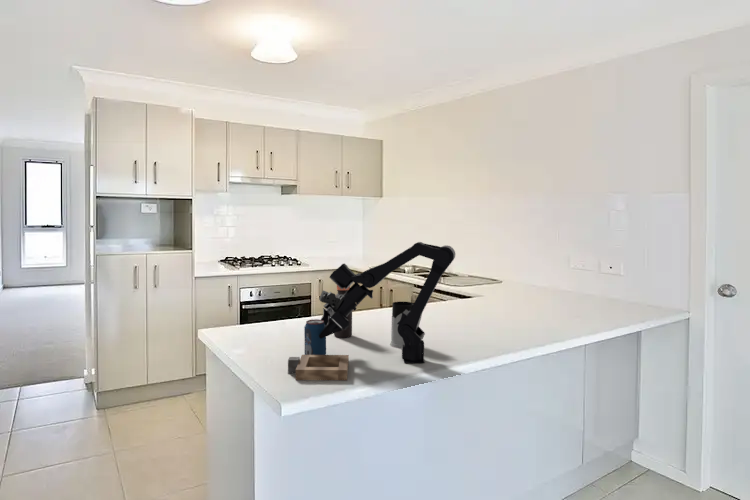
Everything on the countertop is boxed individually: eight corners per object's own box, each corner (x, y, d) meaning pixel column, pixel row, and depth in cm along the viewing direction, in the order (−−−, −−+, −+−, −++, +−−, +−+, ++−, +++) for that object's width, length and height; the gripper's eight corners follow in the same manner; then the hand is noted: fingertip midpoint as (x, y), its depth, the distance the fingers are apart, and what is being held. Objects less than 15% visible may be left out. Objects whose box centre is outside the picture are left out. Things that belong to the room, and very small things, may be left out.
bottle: (349, 338, 189) (349, 285, 187) (331, 337, 190) (332, 284, 188) (353, 334, 195) (354, 282, 194) (336, 333, 197) (337, 282, 195)
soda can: (327, 354, 168) (327, 319, 167) (323, 361, 161) (323, 324, 160) (307, 354, 168) (307, 318, 167) (302, 360, 162) (302, 323, 161)
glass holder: (394, 348, 176) (394, 306, 175) (382, 338, 190) (383, 298, 189) (417, 347, 179) (418, 305, 177) (404, 337, 192) (405, 298, 191)
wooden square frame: (348, 364, 158) (348, 351, 158) (346, 380, 144) (347, 366, 143) (292, 363, 158) (292, 351, 158) (284, 379, 143) (284, 366, 143)
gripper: (329, 278, 173) (297, 311, 171) (338, 286, 155) (302, 324, 153) (352, 300, 175) (320, 333, 174) (363, 311, 157) (328, 348, 156)
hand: (317, 333), depth 164 cm, fingers open, 9 cm apart
